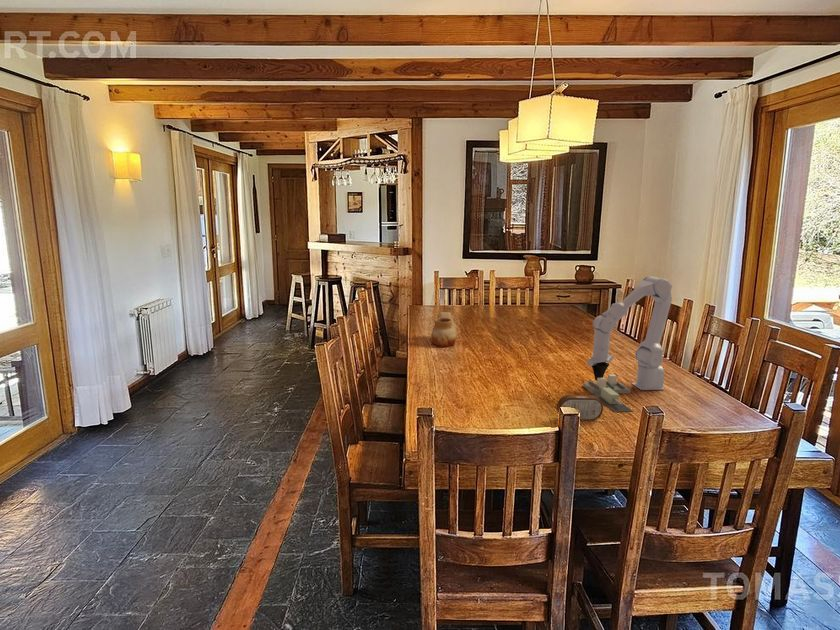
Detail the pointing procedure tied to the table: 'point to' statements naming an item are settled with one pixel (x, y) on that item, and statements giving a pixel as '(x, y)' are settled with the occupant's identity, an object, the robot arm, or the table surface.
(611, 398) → the driver
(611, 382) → the tab
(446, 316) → the ceramic vessel
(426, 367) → the table surface
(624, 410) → the tool mat
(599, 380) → the tab
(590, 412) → the tin
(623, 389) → the switch panel
